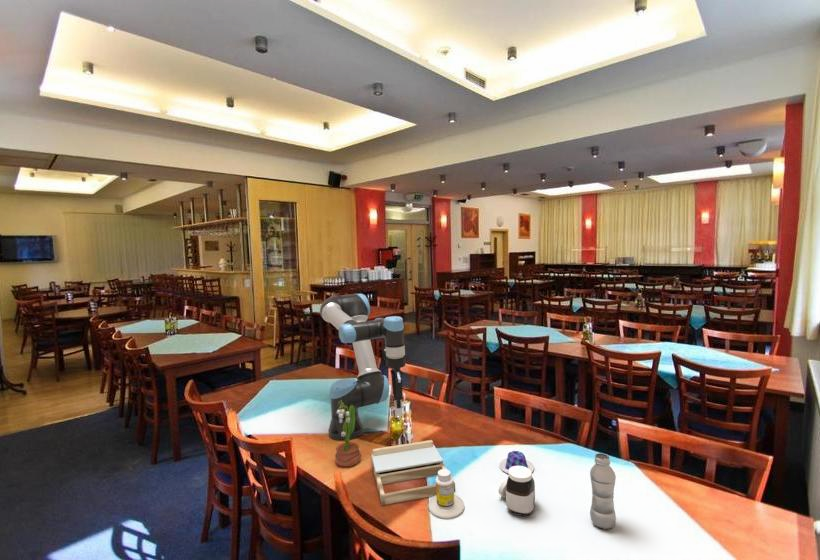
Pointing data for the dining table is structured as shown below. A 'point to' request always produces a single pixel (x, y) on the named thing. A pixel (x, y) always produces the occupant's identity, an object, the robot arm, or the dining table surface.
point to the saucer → (446, 513)
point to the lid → (405, 456)
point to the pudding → (515, 461)
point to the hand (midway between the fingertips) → (398, 414)
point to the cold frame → (403, 476)
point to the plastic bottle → (602, 492)
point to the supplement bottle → (444, 489)
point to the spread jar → (519, 490)
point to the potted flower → (347, 439)
